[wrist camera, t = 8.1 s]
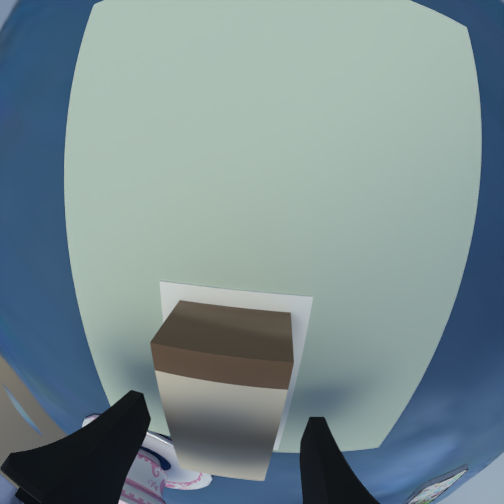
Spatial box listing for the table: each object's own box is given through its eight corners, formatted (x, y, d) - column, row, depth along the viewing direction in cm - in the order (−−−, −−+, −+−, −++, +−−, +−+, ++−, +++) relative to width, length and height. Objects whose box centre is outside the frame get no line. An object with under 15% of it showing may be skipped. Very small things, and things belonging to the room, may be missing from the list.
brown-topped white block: (266, 439, 13) (263, 480, 10) (192, 429, 13) (180, 468, 10) (290, 312, 10) (294, 362, 7) (179, 300, 11) (149, 342, 8)
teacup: (62, 400, 16) (27, 446, 10) (183, 423, 14) (156, 502, 8) (124, 472, 19) (106, 511, 13) (228, 490, 17) (219, 541, 12)
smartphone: (391, 516, 20) (422, 488, 16) (390, 511, 22) (420, 481, 17) (431, 501, 20) (471, 466, 15) (430, 497, 21) (469, 460, 16)
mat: (462, 29, 6) (467, 26, 5) (377, 443, 13) (378, 448, 13) (97, 7, 7) (92, 3, 7) (119, 416, 15) (116, 421, 14)
